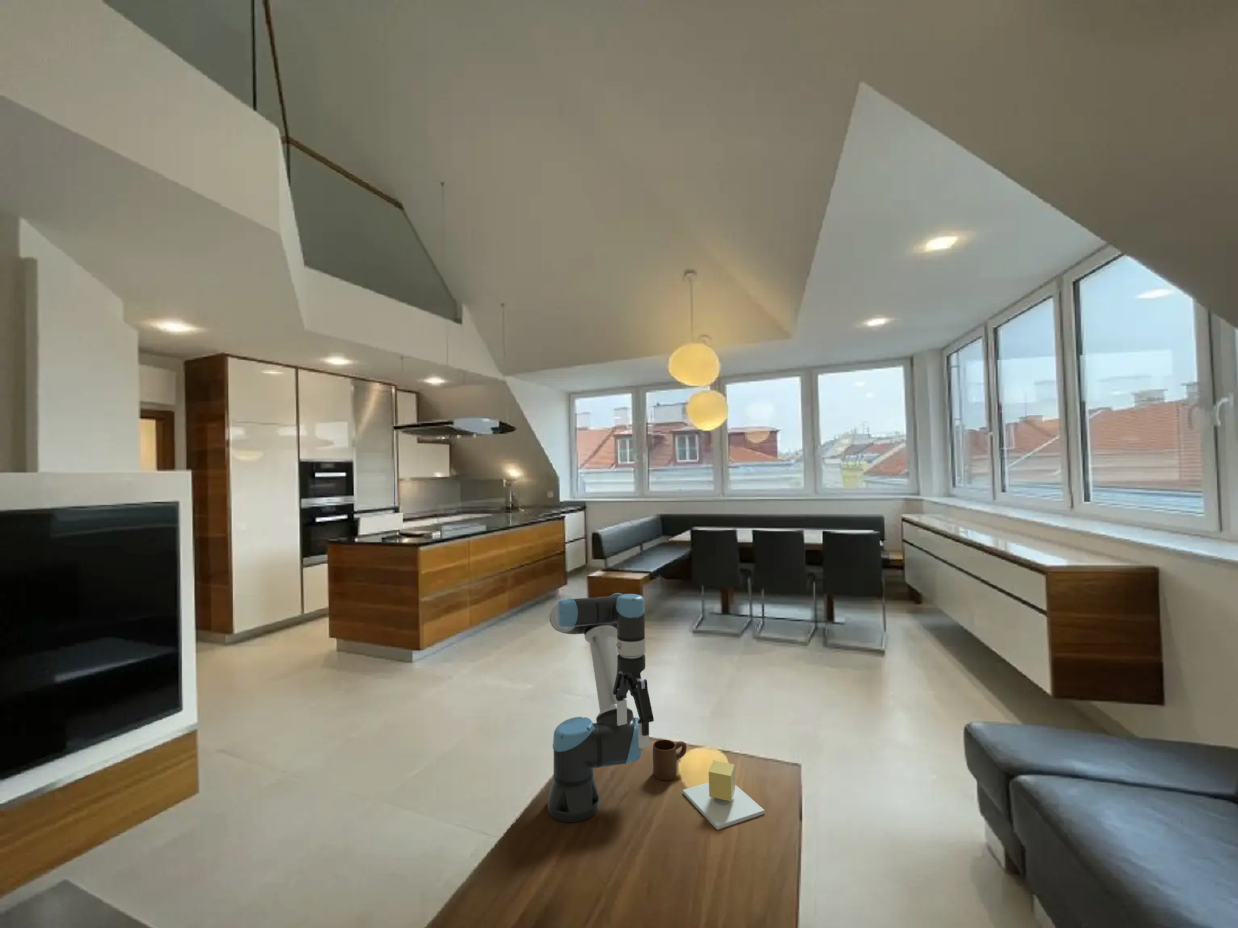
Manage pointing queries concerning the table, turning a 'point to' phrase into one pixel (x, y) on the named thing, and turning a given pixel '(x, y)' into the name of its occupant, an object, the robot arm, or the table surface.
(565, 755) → the robot arm
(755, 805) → the white square plate
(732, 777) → the pale yellow cube
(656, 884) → the table surface
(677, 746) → the mug
